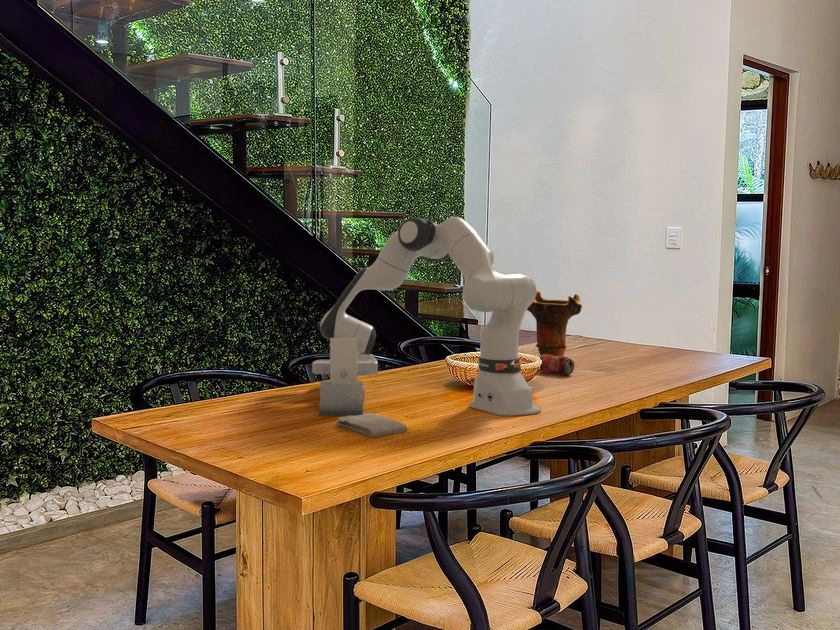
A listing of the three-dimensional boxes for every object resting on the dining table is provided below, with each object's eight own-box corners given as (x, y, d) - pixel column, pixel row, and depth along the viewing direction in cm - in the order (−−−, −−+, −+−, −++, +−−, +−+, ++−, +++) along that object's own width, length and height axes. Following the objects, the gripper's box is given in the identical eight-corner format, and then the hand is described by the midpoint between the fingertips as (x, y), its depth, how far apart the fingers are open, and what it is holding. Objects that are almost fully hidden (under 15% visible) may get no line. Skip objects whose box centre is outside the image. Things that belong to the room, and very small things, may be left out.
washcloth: (369, 421, 243) (369, 410, 243) (409, 433, 229) (409, 421, 229) (332, 426, 236) (332, 415, 236) (371, 440, 222) (371, 428, 222)
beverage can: (565, 377, 313) (565, 358, 313) (537, 373, 321) (537, 355, 321) (576, 375, 318) (577, 356, 318) (549, 371, 327) (549, 353, 326)
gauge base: (324, 395, 277) (323, 368, 276) (364, 395, 277) (364, 368, 276) (317, 415, 247) (317, 385, 246) (362, 415, 247) (362, 385, 247)
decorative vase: (582, 364, 338) (580, 291, 336) (522, 365, 343) (519, 293, 341) (584, 357, 359) (582, 288, 356) (526, 358, 363) (524, 289, 361)
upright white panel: (323, 392, 271) (323, 336, 269) (357, 392, 271) (357, 336, 269) (322, 397, 263) (322, 340, 261) (356, 397, 263) (356, 340, 261)
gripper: (313, 354, 281) (309, 360, 267) (377, 354, 282) (377, 360, 268) (313, 373, 282) (309, 381, 268) (377, 373, 283) (377, 381, 269)
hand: (344, 371), depth 268 cm, fingers closed, pressing on upright white panel
